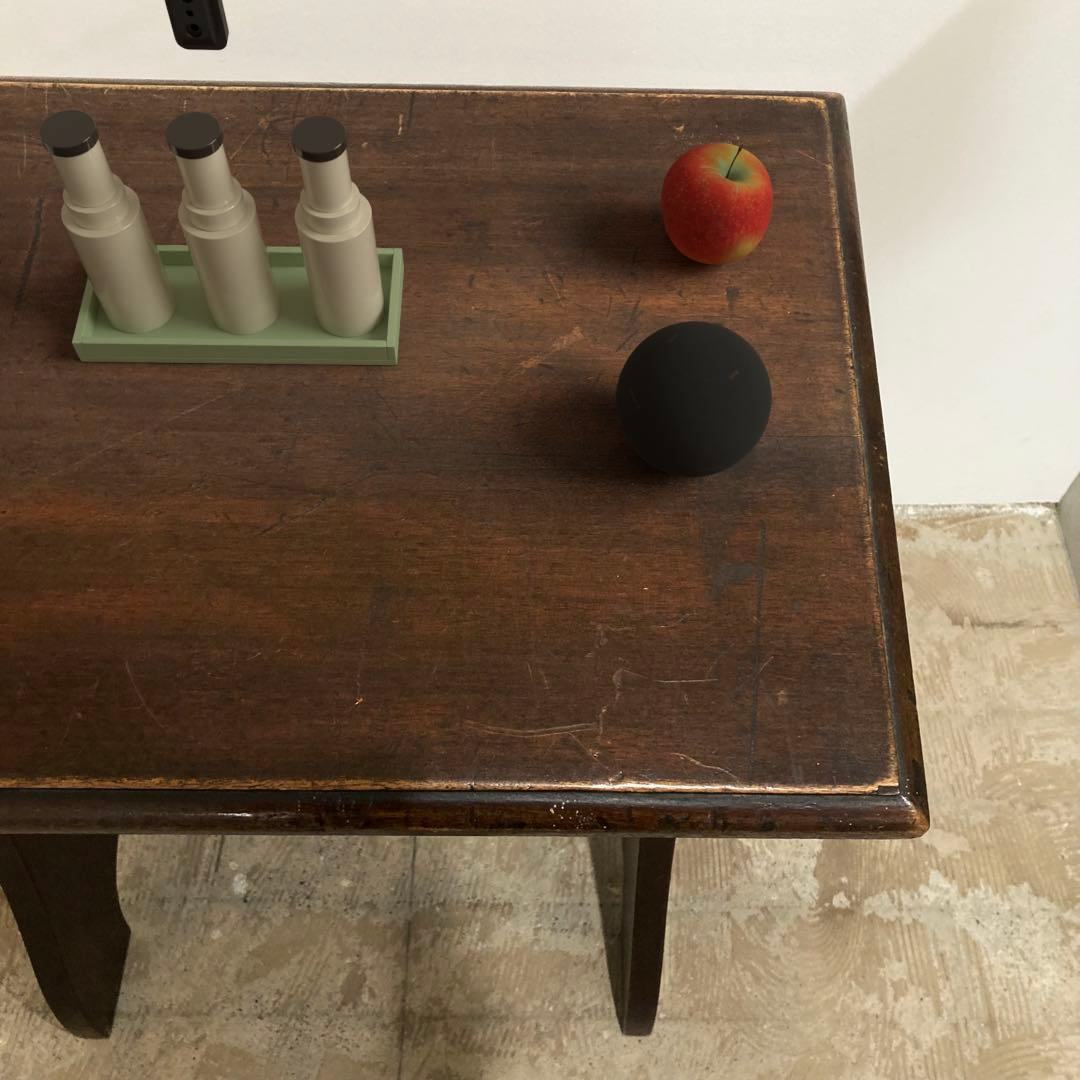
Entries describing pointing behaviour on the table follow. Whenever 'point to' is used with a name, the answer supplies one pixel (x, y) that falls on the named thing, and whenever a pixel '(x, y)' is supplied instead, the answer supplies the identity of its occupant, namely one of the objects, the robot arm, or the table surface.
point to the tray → (279, 343)
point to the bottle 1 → (107, 227)
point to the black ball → (693, 399)
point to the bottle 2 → (222, 229)
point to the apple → (716, 203)
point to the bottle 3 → (336, 232)
